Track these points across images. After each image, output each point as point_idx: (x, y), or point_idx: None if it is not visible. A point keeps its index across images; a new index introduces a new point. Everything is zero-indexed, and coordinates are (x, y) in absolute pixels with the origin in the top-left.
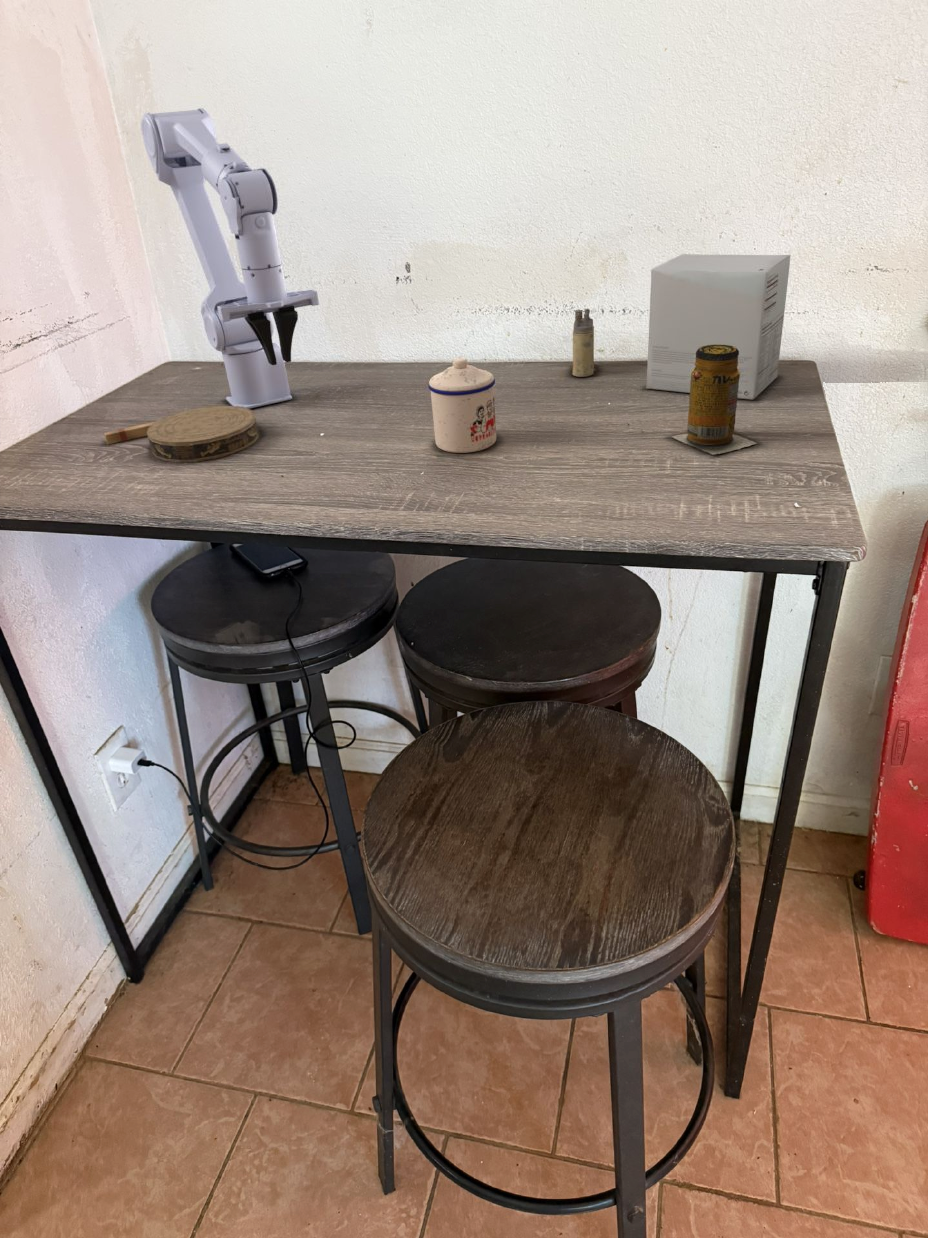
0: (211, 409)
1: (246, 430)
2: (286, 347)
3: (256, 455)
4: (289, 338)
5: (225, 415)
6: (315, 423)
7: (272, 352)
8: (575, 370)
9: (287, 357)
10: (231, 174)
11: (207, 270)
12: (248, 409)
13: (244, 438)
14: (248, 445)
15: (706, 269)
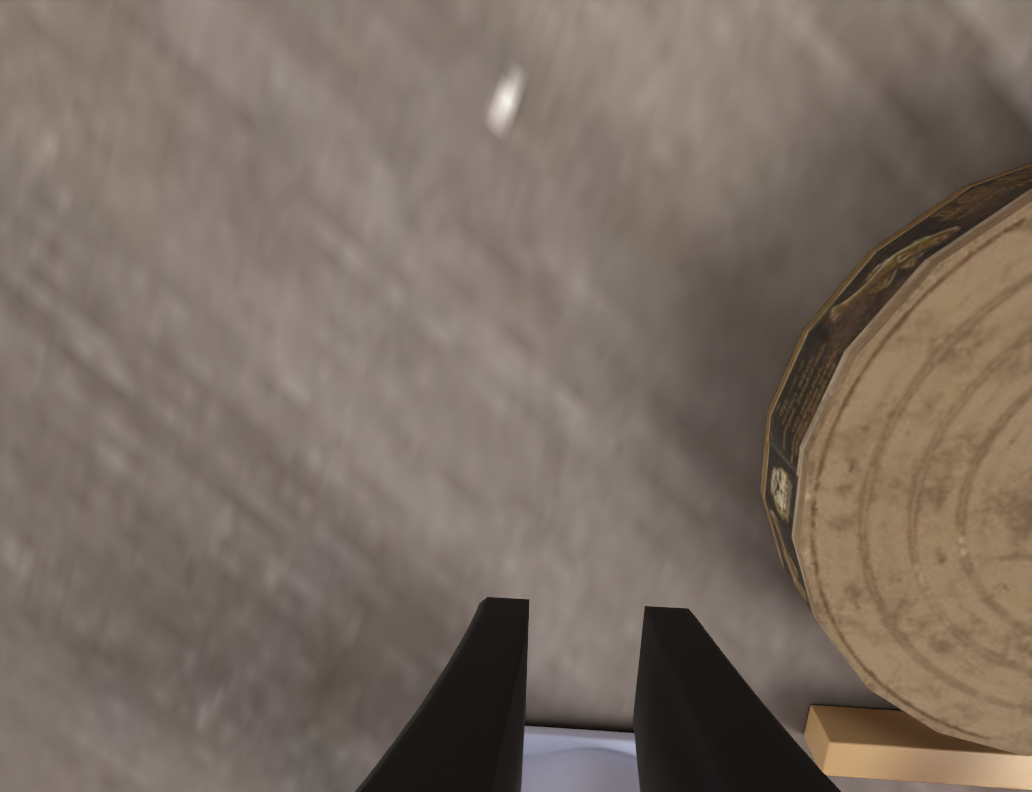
0: (961, 681)
1: (973, 224)
2: (503, 693)
3: (973, 12)
4: (413, 788)
5: (965, 528)
6: (469, 319)
7: (714, 687)
8: None
9: (516, 618)
10: None
11: None
12: (807, 533)
13: (984, 197)
14: (928, 211)
15: None
